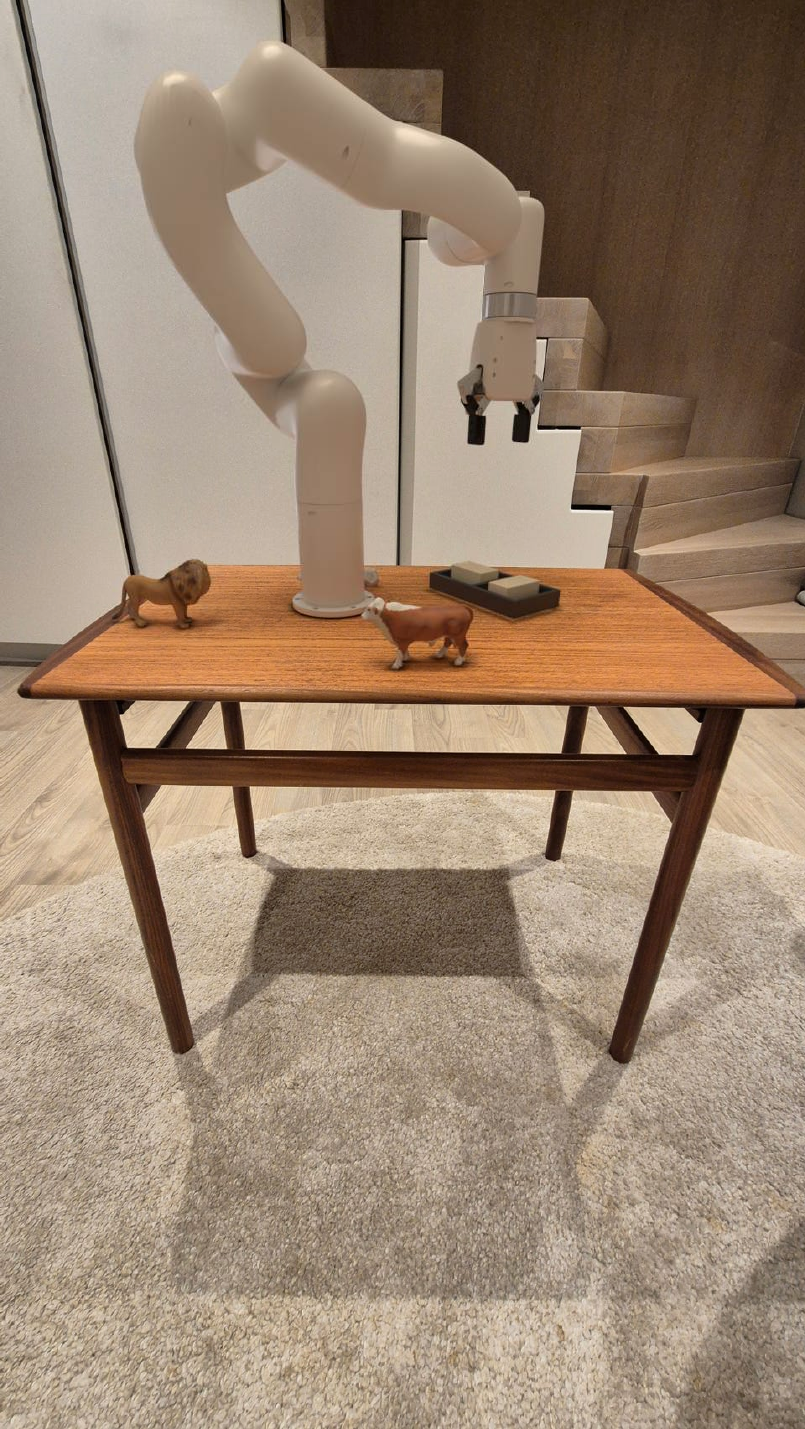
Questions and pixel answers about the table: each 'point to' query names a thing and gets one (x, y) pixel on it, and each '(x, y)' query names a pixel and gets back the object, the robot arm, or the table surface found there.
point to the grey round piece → (371, 578)
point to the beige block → (515, 587)
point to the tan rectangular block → (473, 572)
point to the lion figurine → (167, 591)
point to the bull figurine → (421, 626)
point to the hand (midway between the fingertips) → (498, 443)
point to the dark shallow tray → (495, 595)
